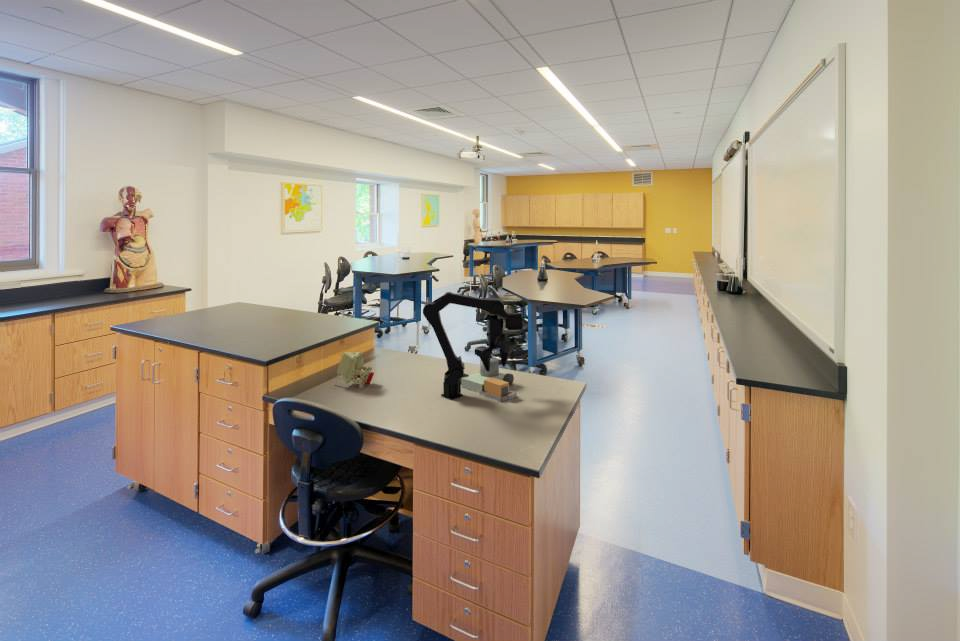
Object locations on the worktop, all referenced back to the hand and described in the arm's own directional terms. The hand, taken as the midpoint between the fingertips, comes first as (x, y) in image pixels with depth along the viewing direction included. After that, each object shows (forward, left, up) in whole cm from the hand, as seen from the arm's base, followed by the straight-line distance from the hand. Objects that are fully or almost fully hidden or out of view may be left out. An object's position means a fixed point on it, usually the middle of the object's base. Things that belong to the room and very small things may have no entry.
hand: (495, 368), depth 195 cm
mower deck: (+6, +11, -11) cm, 17 cm away
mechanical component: (-31, +50, -11) cm, 60 cm away
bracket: (0, 0, -11) cm, 11 cm away
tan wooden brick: (0, 0, -11) cm, 11 cm away
